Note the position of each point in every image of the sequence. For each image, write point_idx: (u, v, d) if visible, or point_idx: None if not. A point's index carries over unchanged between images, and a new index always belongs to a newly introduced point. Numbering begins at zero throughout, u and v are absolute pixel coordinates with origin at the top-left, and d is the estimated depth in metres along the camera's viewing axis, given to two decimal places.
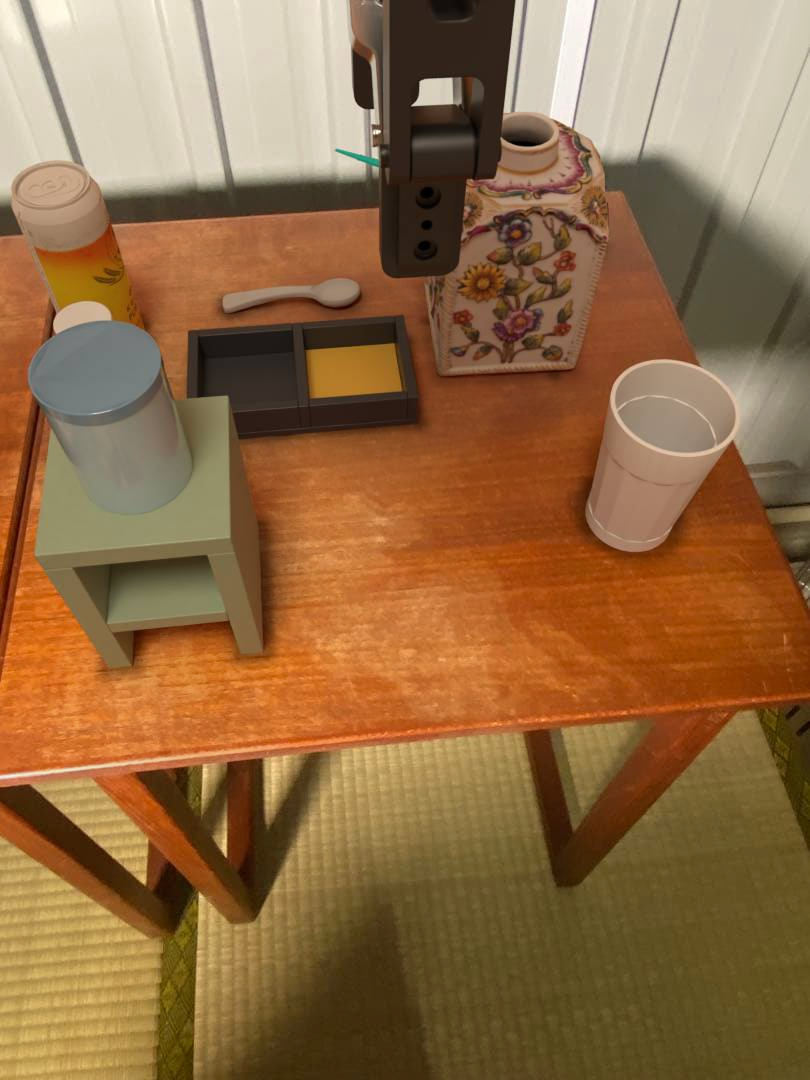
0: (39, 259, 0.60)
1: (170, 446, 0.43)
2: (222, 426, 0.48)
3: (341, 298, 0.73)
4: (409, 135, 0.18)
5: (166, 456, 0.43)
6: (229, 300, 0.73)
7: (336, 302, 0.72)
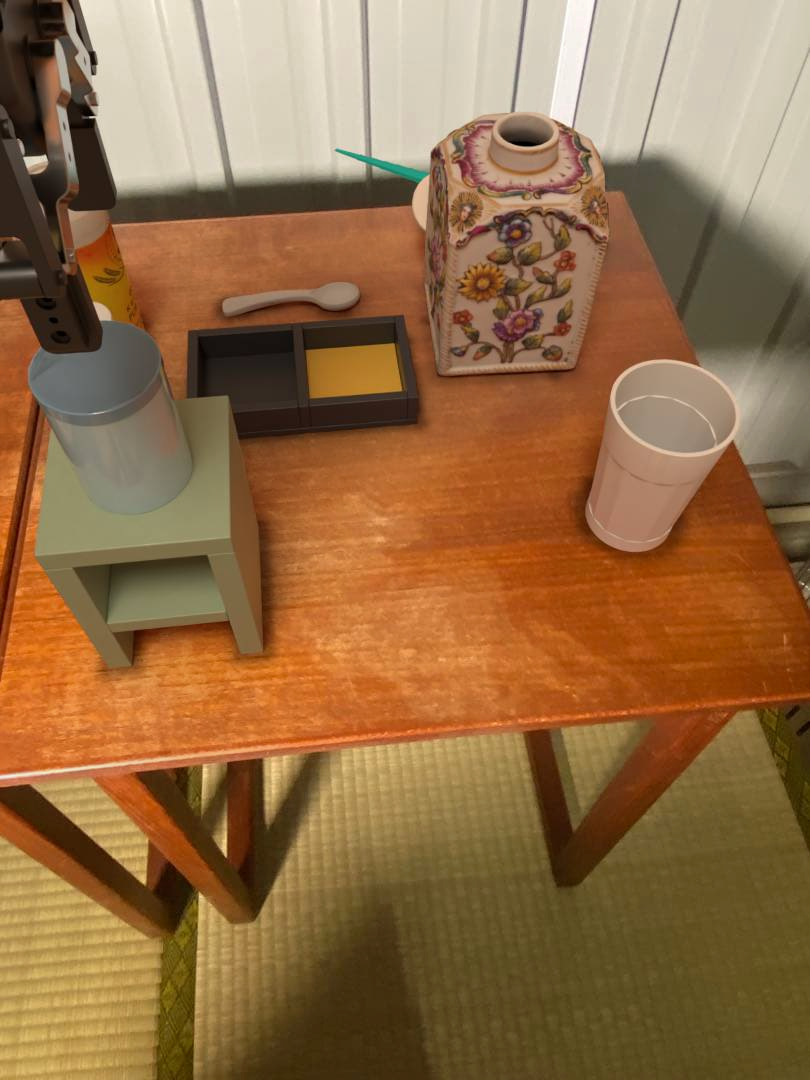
0: None
1: (170, 446, 0.43)
2: (222, 426, 0.48)
3: (341, 302, 0.73)
4: None
5: (166, 456, 0.43)
6: (229, 304, 0.73)
7: (336, 306, 0.72)
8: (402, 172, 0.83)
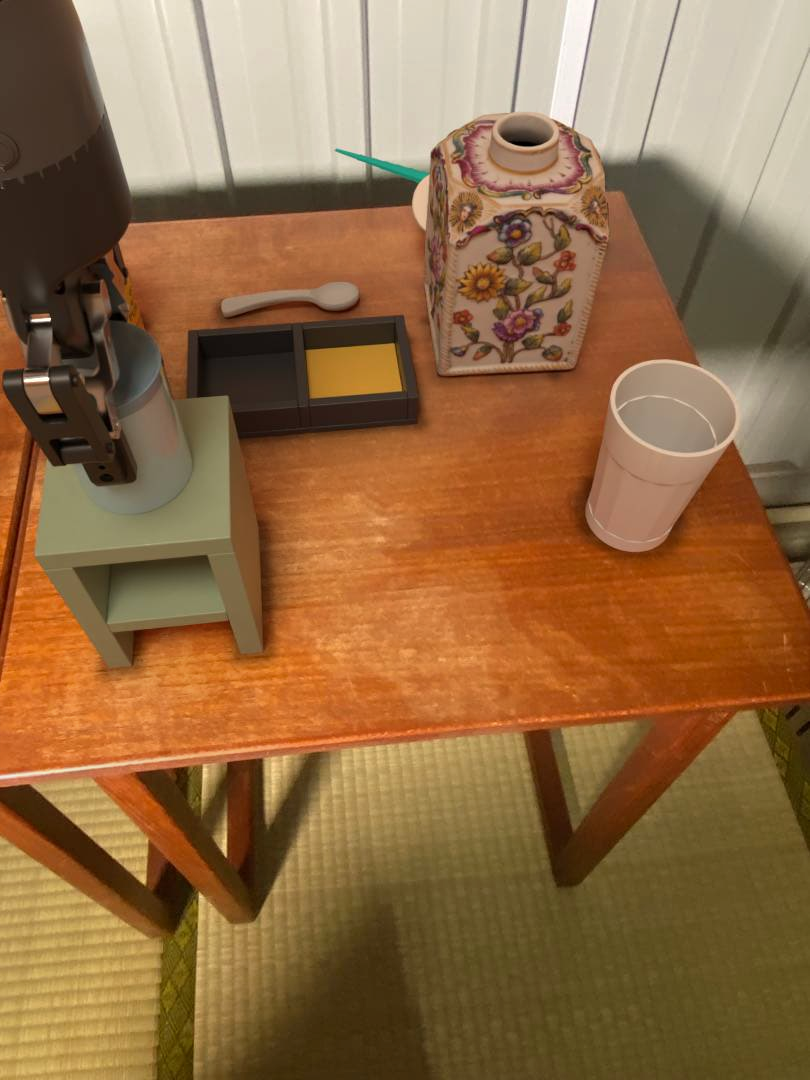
0: None
1: (170, 446, 0.43)
2: (222, 426, 0.48)
3: (340, 302, 0.73)
4: (55, 454, 0.35)
5: (166, 456, 0.43)
6: (228, 304, 0.72)
7: (335, 306, 0.72)
8: (402, 172, 0.83)
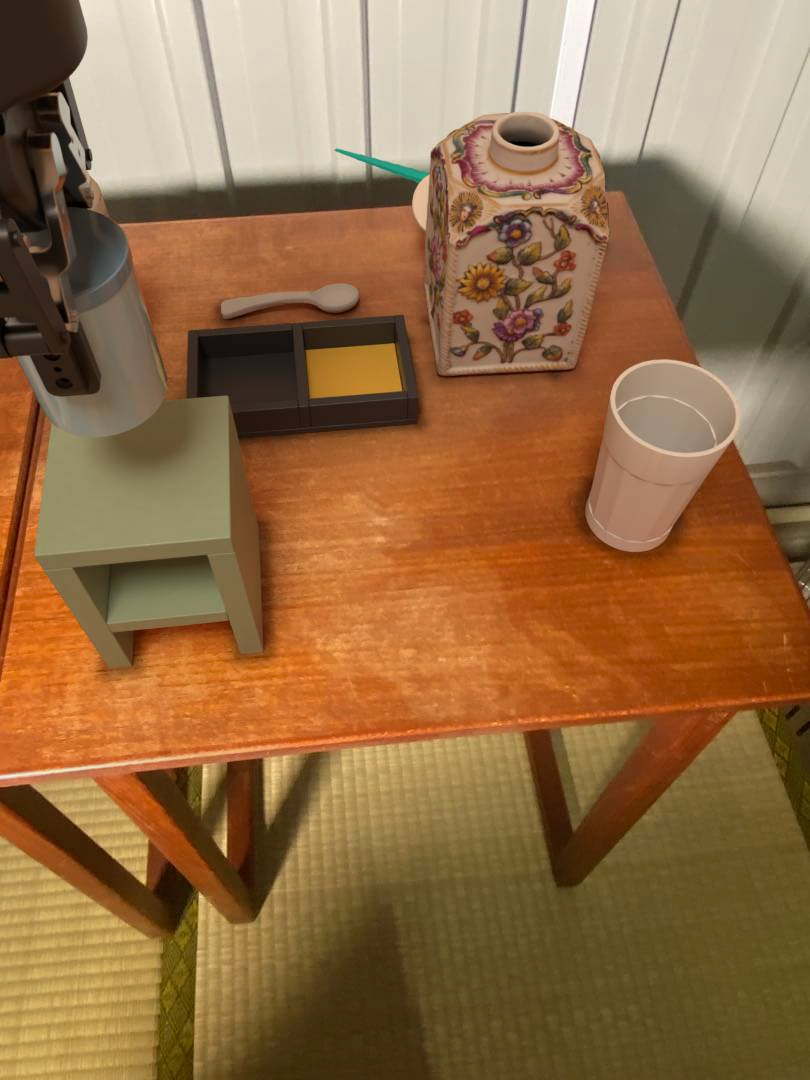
0: None
1: (140, 355, 0.37)
2: (222, 426, 0.48)
3: (340, 303, 0.73)
4: None
5: (136, 367, 0.37)
6: (227, 306, 0.72)
7: (335, 308, 0.72)
8: (402, 172, 0.83)
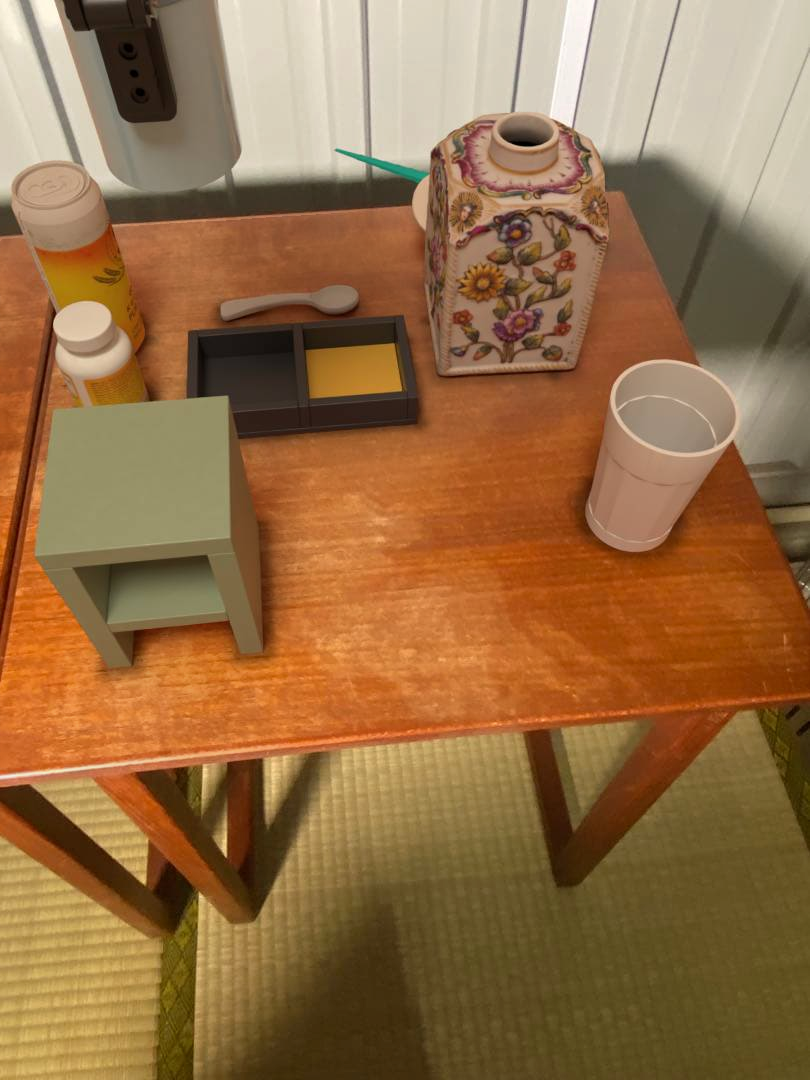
0: (39, 259, 0.60)
1: (218, 88, 0.34)
2: (222, 426, 0.48)
3: (340, 305, 0.73)
4: None
5: (213, 101, 0.34)
6: (227, 308, 0.72)
7: (335, 309, 0.72)
8: (402, 172, 0.83)
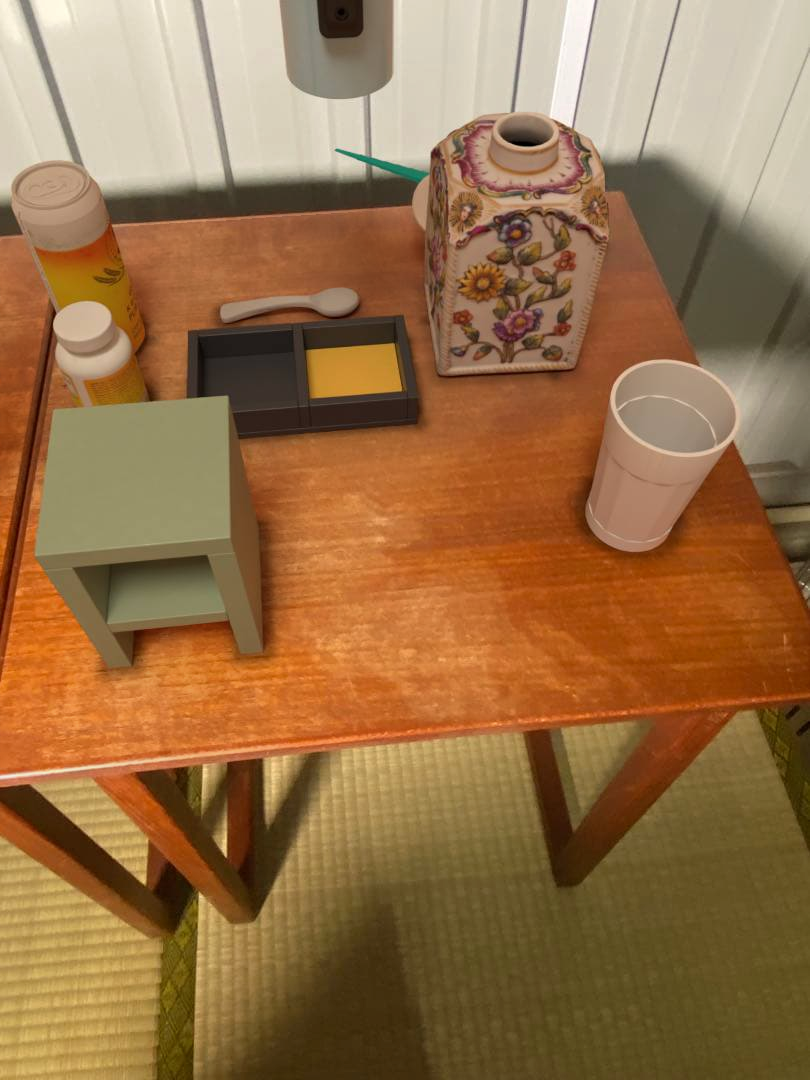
0: (39, 259, 0.60)
1: (389, 13, 0.43)
2: (222, 426, 0.48)
3: (340, 308, 0.73)
4: None
5: (385, 23, 0.43)
6: (227, 310, 0.72)
7: (335, 312, 0.72)
8: (402, 172, 0.83)
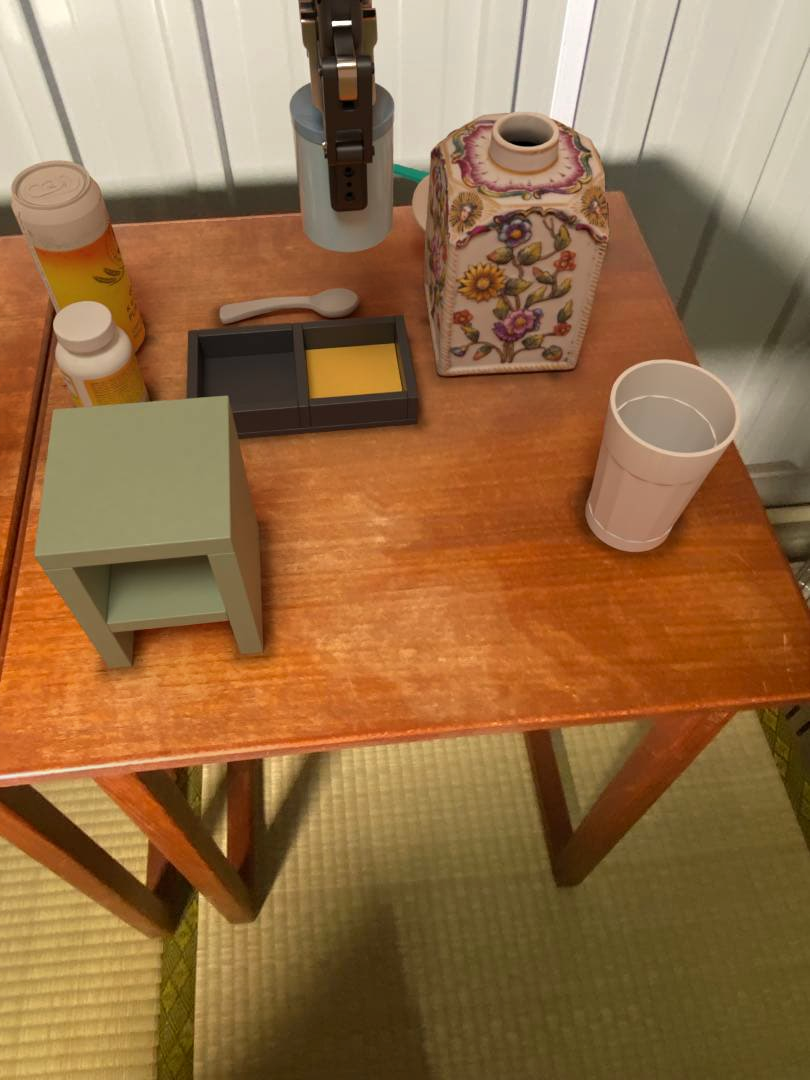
0: (39, 259, 0.60)
1: (389, 186, 0.52)
2: (222, 426, 0.48)
3: (340, 308, 0.73)
4: (335, 148, 0.44)
5: (385, 194, 0.52)
6: (226, 311, 0.72)
7: (335, 313, 0.72)
8: (402, 172, 0.83)
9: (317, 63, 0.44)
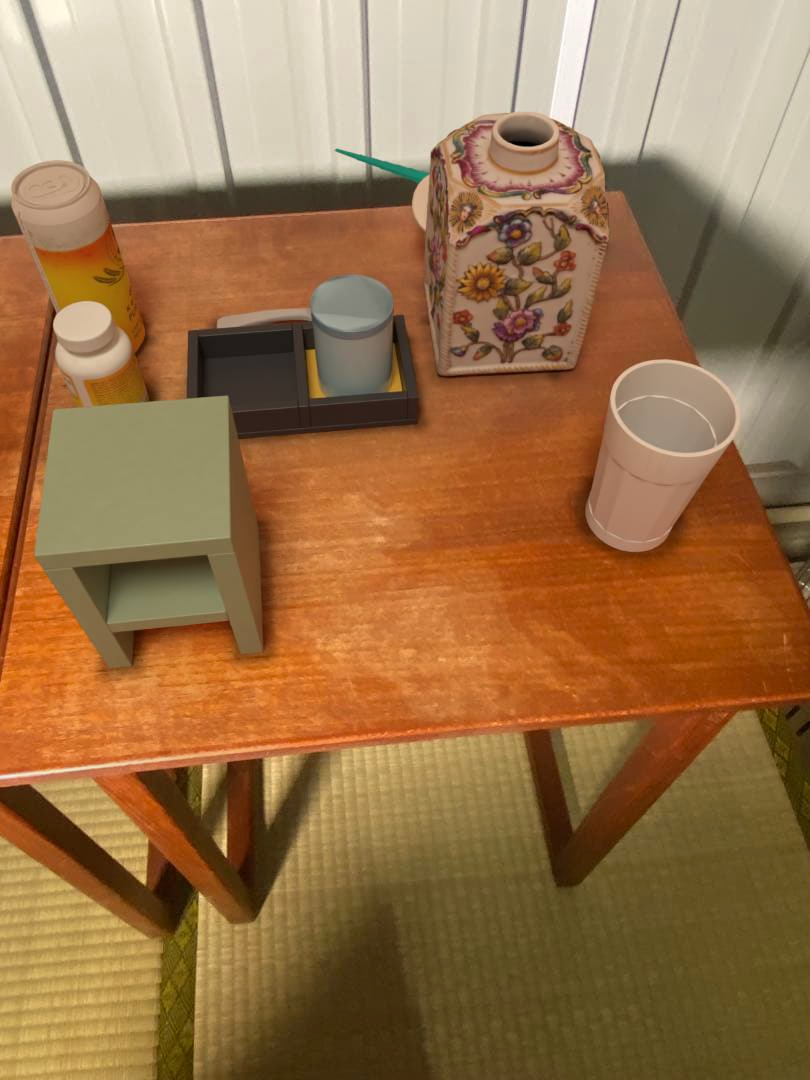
0: (39, 259, 0.60)
1: (389, 358, 0.64)
2: (222, 426, 0.48)
3: None
4: None
5: (386, 365, 0.64)
6: (223, 323, 0.71)
7: None
8: (402, 172, 0.83)
9: None
